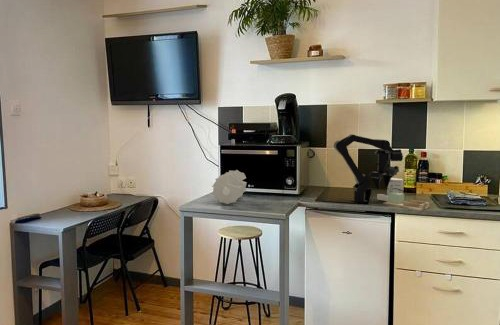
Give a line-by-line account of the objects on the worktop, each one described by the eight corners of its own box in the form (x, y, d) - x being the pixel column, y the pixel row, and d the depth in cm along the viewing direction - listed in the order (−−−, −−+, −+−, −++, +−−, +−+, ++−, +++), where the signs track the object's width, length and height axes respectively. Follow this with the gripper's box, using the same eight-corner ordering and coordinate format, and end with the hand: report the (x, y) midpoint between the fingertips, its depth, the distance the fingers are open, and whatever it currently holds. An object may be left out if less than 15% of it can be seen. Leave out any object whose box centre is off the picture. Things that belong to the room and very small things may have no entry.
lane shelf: (419, 210, 204) (420, 205, 203) (383, 204, 220) (383, 199, 219) (430, 207, 211) (430, 202, 211) (394, 201, 227) (394, 196, 227)
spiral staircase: (219, 211, 223) (228, 200, 247) (246, 199, 219) (252, 189, 243) (204, 183, 221) (215, 175, 246) (231, 170, 217) (239, 163, 242)
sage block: (399, 203, 216) (399, 194, 215) (375, 199, 227) (376, 191, 227) (403, 202, 219) (404, 193, 219) (380, 198, 230) (380, 190, 230)
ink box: (386, 197, 237) (387, 178, 235) (387, 196, 241) (388, 177, 240) (401, 199, 233) (402, 179, 231) (402, 197, 237) (403, 178, 236)
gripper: (387, 163, 212) (386, 192, 214) (404, 161, 224) (403, 187, 226) (369, 162, 221) (368, 189, 222) (387, 159, 233) (386, 185, 234)
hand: (382, 188), depth 226 cm, fingers open, 9 cm apart
